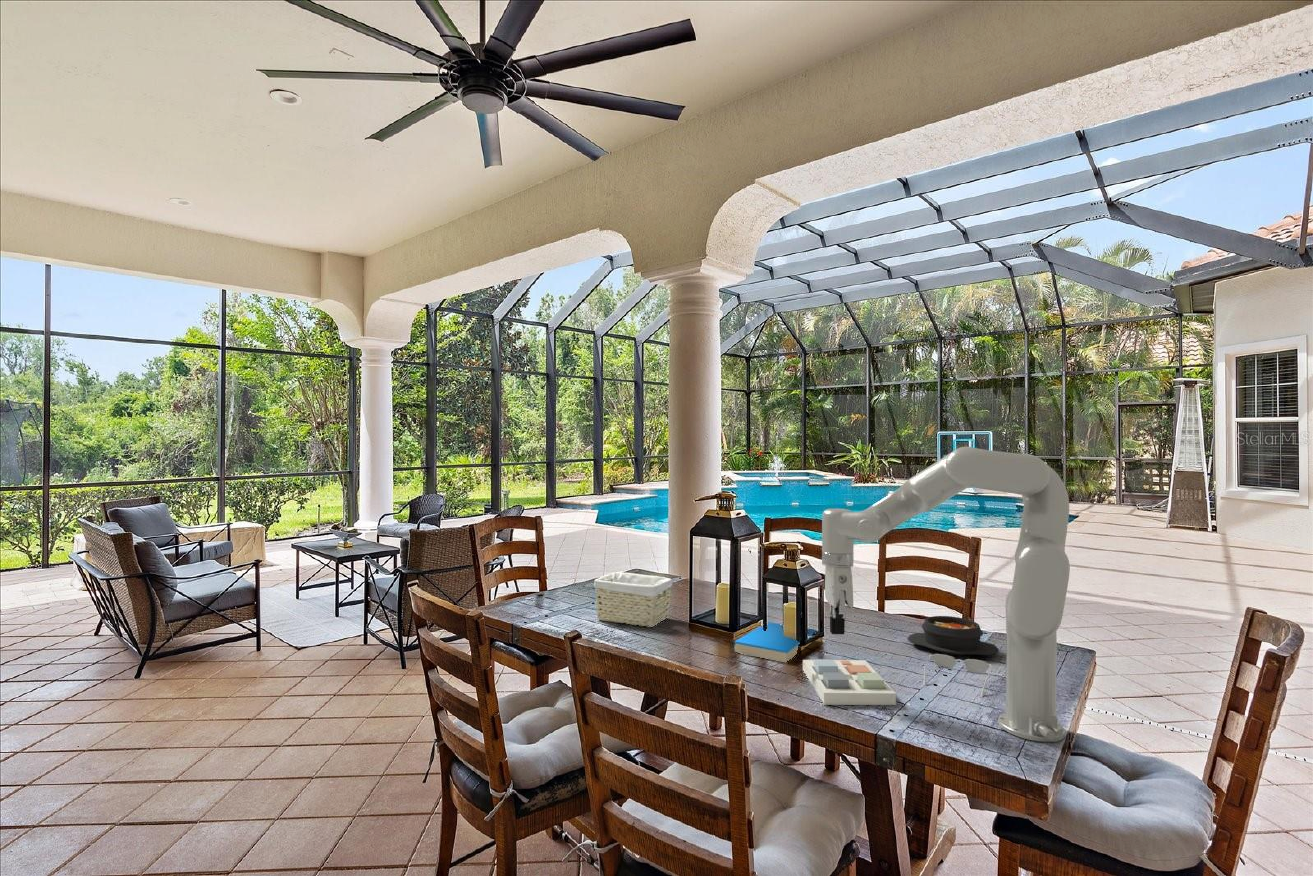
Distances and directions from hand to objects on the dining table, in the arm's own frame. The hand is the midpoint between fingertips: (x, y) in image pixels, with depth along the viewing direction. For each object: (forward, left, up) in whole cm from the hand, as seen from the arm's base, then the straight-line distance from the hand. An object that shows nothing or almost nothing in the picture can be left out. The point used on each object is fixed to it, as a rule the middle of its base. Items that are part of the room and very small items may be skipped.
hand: (837, 633), depth 159 cm
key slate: (-1, +1, -13) cm, 13 cm away
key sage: (-1, -8, -13) cm, 15 cm away
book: (+37, +8, -16) cm, 41 cm away
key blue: (+9, +1, -13) cm, 15 cm away
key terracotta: (+9, -8, -14) cm, 18 cm away
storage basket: (+66, +53, -16) cm, 86 cm away
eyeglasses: (+11, -34, -16) cm, 39 cm away
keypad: (+5, -4, -15) cm, 17 cm away
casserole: (+36, -44, -16) cm, 59 cm away
